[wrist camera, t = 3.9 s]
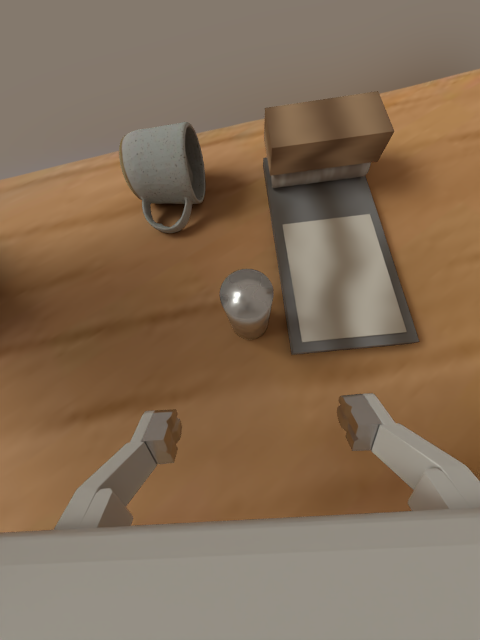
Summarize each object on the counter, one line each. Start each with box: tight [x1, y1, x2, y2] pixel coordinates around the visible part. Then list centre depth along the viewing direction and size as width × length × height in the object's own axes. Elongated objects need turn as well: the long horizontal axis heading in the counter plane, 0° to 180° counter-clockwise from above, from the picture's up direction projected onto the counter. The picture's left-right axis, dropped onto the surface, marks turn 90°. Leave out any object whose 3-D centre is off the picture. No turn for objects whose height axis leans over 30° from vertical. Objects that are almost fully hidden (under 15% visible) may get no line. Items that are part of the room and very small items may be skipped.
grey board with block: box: [263, 91, 419, 355], centre depth 22 cm, size 12×26×7 cm, turn 5°
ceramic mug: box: [119, 122, 205, 233], centre depth 25 cm, size 11×8×8 cm
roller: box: [220, 269, 273, 340], centre depth 20 cm, size 4×4×8 cm
